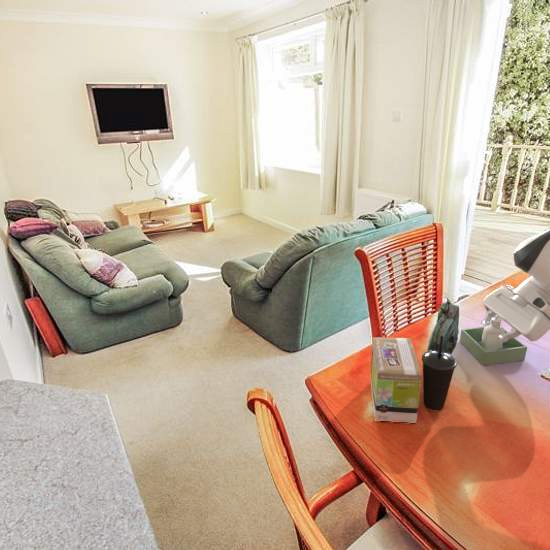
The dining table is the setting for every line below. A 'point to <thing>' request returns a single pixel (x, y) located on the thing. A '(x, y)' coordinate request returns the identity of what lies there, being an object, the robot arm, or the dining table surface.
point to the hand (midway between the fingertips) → (492, 332)
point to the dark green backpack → (445, 328)
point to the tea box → (395, 379)
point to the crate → (511, 354)
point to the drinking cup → (437, 376)
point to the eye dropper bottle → (492, 335)
